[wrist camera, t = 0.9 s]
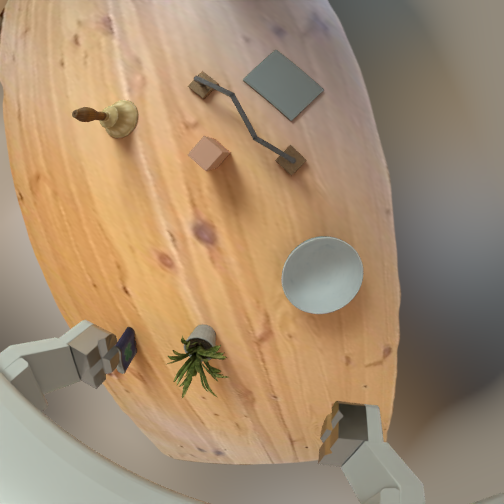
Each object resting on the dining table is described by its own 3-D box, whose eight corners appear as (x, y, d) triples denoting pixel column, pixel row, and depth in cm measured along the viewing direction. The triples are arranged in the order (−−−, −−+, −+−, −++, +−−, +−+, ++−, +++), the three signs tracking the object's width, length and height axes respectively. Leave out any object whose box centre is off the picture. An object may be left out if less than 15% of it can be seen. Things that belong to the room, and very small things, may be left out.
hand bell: (145, 117, 47) (102, 107, 32) (119, 146, 49) (71, 147, 34) (124, 92, 45) (79, 78, 30) (99, 121, 47) (50, 117, 32)
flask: (138, 354, 67) (122, 379, 57) (128, 351, 67) (112, 376, 57) (134, 327, 64) (116, 353, 54) (124, 325, 64) (106, 349, 54)
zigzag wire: (189, 87, 45) (180, 80, 39) (203, 72, 44) (195, 63, 38) (290, 175, 50) (293, 177, 44) (305, 160, 48) (310, 160, 43)
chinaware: (366, 253, 54) (378, 268, 47) (321, 306, 58) (327, 326, 51) (310, 210, 52) (317, 220, 44) (265, 270, 56) (264, 287, 49)
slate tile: (243, 80, 44) (242, 79, 43) (275, 50, 41) (275, 49, 41) (291, 121, 46) (291, 120, 46) (323, 90, 44) (324, 89, 43)
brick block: (201, 154, 49) (187, 154, 41) (214, 138, 48) (204, 135, 40) (216, 168, 50) (205, 171, 42) (230, 152, 49) (222, 152, 40)
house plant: (228, 365, 66) (218, 414, 51) (175, 350, 65) (155, 396, 50) (241, 322, 61) (233, 372, 46) (182, 305, 61) (158, 350, 45)
